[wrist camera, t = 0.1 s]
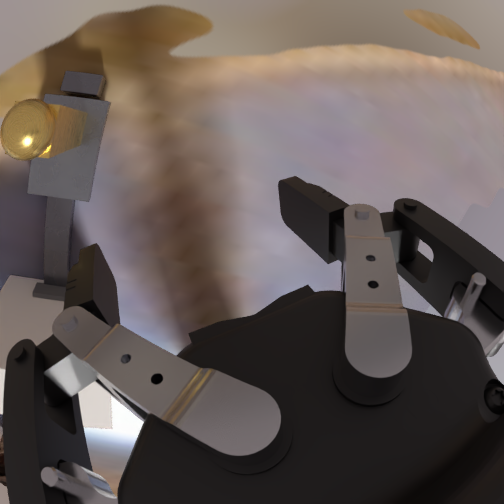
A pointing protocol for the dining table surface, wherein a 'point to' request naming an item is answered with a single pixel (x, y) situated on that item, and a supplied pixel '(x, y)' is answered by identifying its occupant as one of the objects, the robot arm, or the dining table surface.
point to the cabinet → (43, 337)
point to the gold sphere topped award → (57, 143)
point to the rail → (61, 208)
